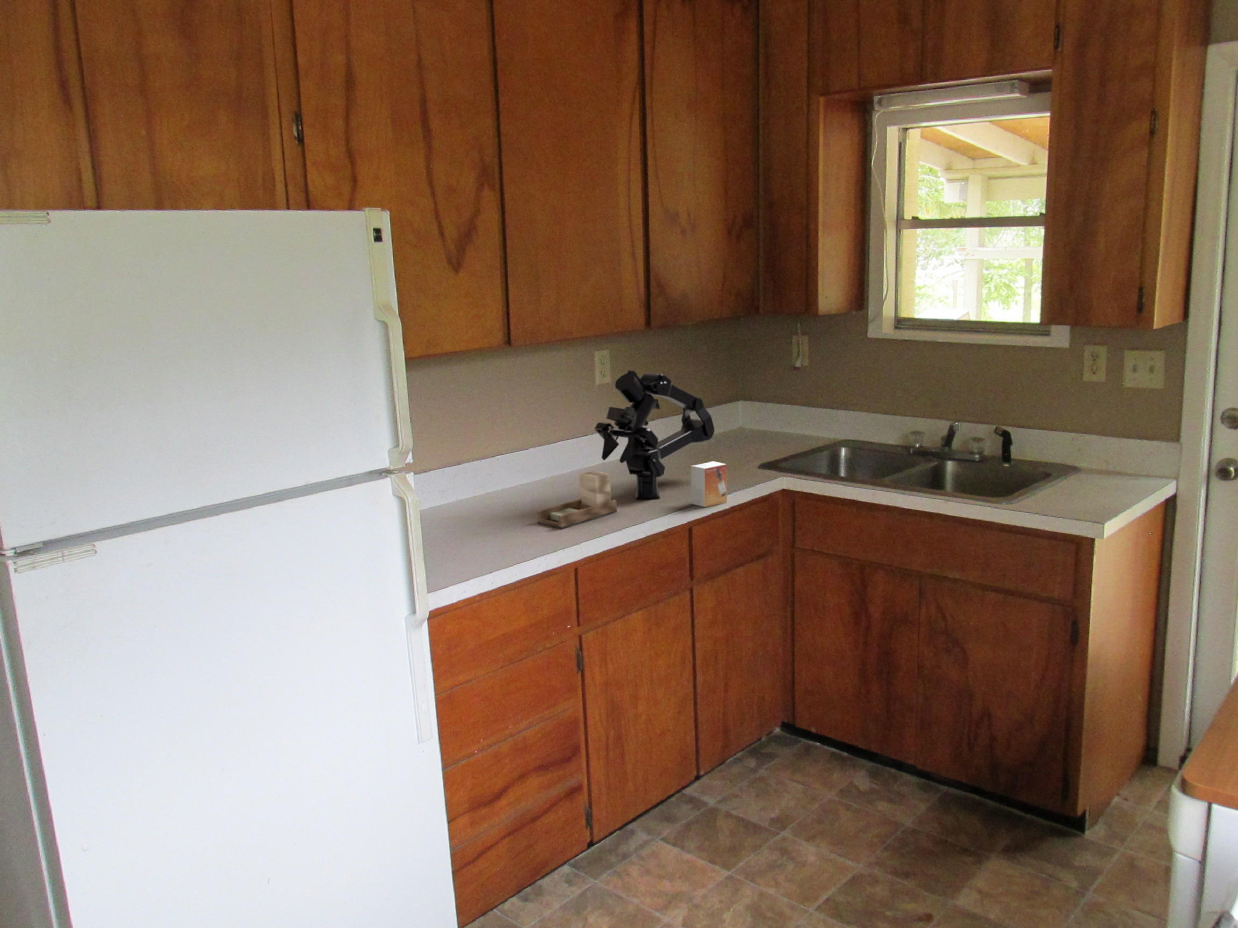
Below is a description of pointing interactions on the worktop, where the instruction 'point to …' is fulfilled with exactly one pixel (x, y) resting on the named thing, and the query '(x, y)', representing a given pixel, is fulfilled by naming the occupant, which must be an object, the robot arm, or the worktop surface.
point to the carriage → (595, 488)
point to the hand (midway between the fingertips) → (611, 460)
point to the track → (574, 513)
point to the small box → (709, 484)
